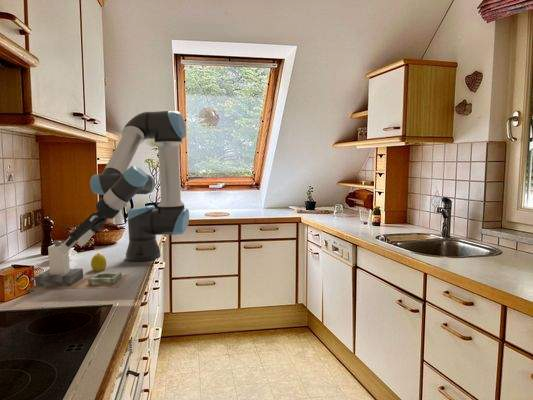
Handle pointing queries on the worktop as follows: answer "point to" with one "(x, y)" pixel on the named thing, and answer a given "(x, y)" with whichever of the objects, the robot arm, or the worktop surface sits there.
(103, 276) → the board
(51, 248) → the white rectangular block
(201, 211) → the worktop surface
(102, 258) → the lemon
